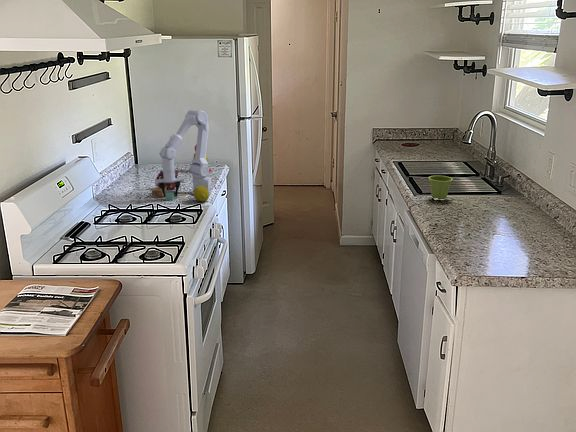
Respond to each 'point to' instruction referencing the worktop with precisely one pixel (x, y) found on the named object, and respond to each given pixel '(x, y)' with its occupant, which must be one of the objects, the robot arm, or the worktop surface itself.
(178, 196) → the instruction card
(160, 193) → the walnut block
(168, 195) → the teal block
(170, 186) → the toy fire truck
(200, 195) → the lemon
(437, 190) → the plant pot
